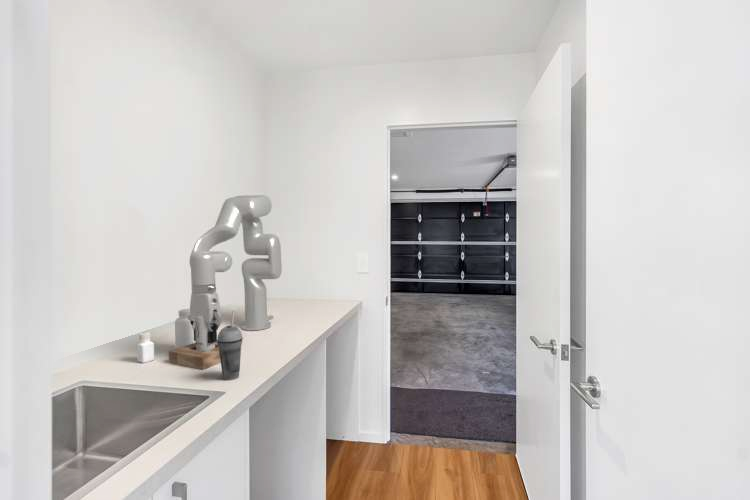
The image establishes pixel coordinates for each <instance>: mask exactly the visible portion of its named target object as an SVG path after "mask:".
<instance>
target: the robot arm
mask: <svg viewBox="0 0 750 500" xmlns="http://www.w3.org/2000/svg"><path fill="white" fill-rule="evenodd" d="M272 206H273V205H272V200H271V199H270V197H269V196H268V195H263V194H259V195H258V194H257V195H256V194H255V195H250V194H249V195H248V194H247V195H237V196H232V197H228V198H226V199H225V200H224V201H223V204H222V207H221V208H220V209H221V210H220V212H219V215H218V217H217V220H216V222H215V224H214V226H213V227H212V228H210V229H208V230H207V231H206V232H205V233H204V234H202V235H201V236H200V237H198V239H197V240H196V242H195V243H194V245H193V248H192V250H191V253H190V255H189V266H190V281H191V282H190V283H191V294H190V303H189V309H190V315H189V316H188V319H189V321H190V323H191V325H192V329H194V341H196V335H195V315H196V314H198V313H197V312H200V313H199V314H201V315H202V316H203V318H204V322H205V323H207V325H208V328H209V332H208V343H213V342H216V341H217V338H218V330H219V327H220V326H221V324H222V323H223V319H222V317H221V315H222V314H221V305H220V304H221V303H220V298H219V295H218V292H216V291H217V287H216V273H225V272H228V271H229V270H230V269H231V267H232V265H233V257H232V256H231V255H230V254H229V253H228V252H226V251H217V250H216V251H214V250H213V251H212V250H211V249H212V248H213V247H215V246H217V245H219V244H221V243H223V242H227V241H229V240H231V239H233V238H235V237H236V236H237V235H238V232H239V230H240V226H241V225H242V227H241V228H242V240H243V249H244V252H245V254H247V255H249V256H268V257H265V258H263V257H251V258H247V259H245V260H243V262H242V264H241V274H242V278H243V286H244V287H243V288H244V318H245V320H244V322H245V323H244V324H242V325H241V329H242V330H243V331H250V332H252V331H261V330H266V329H269V328H271V327H272V323H270V322H269V321H271V320H273V319H274V315H273V314H271V315H268V307H267V305H268V304H267V301H268V300H267V299H268V298H267V296H268V295H267V293H268V292H267V286H266V284H265V282H263V280H277V279H279V278H280V277H281V275H282V249H281V248H282V247H281V242H280V238H279V237H278V235H276V234H273V233H264V230H263V222H262V220H261V218H262V217H264V216H268V215H269V214H270V213H271V211H272V209H273V208H272ZM210 250H211V251H210ZM212 320H213V321H212ZM211 324H213V326H212V325H211Z"/></svg>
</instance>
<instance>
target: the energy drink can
mask: <svg viewBox="0 0 750 500" xmlns="http://www.w3.org/2000/svg"><path fill="white" fill-rule="evenodd" d="M197 313H198V314H196V315H195V335H196V350H197V351H202V352H205V351H208V350H211V349H214V348H215V342H213V343H208V332H209V328H208V325H207V323H205V322H204V318H203V316H202V315H201V314H199V313H200V312H197ZM212 321H213V320H212ZM211 325H212V326H213V324H211Z"/></svg>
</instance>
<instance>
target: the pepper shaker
mask: <svg viewBox="0 0 750 500" xmlns="http://www.w3.org/2000/svg"><path fill="white" fill-rule="evenodd" d="M138 336H139V342H138V343H137V344H136V357H137V359H136V360H137V362H139V363H141V364H145V363H149V362H151V361H154V360H155V343H154V341H151V337H152V336H151V332H149V331H148V332H145V331H144V332H140V333H139V335H138Z"/></svg>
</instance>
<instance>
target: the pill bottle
mask: <svg viewBox="0 0 750 500" xmlns="http://www.w3.org/2000/svg"><path fill="white" fill-rule="evenodd" d="M189 315H190V308H185V309H179V310H178V318H176V319H175V321H174V335H175V336H174V338H175V339H174V340H175V341H174V343H175V346H174V347H175V349H177V348H180V347H183V346H186V345H189V344H192V343H196V341H194V329H192V325H191V323H190V321H189V319H188V316H189Z"/></svg>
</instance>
